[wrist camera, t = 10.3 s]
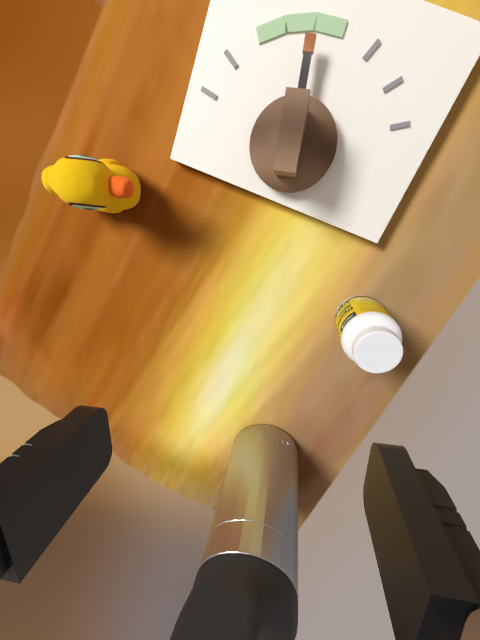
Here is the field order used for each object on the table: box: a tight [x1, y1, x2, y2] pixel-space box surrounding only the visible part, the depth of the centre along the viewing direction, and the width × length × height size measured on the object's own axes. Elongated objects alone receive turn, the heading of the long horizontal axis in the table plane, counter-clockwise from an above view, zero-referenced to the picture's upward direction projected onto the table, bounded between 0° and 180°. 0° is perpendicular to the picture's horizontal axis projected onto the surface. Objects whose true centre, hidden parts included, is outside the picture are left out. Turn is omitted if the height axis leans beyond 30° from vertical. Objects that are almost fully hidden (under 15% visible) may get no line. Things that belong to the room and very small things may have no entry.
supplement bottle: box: [335, 295, 403, 373], centre depth 30 cm, size 5×5×10 cm
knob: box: [249, 33, 337, 193], centre depth 26 cm, size 12×8×6 cm, turn 173°
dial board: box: [170, 0, 480, 243], centre depth 29 cm, size 18×23×2 cm
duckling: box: [42, 155, 141, 213], centre depth 30 cm, size 11×5×10 cm, turn 84°
